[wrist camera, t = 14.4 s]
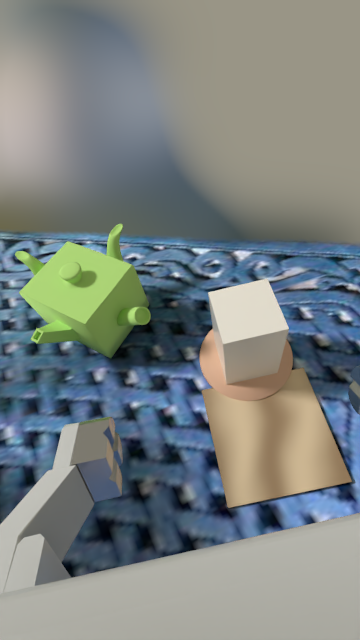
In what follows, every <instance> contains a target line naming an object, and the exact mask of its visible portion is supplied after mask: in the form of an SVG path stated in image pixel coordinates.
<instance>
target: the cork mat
mask: <svg viewBox="0 0 360 640" xmlns="http://www.w3.org/2000/svg"><path fill="white" fill-rule="evenodd" d="M202 394H203V398H204V402H205V407H206V411H207V416H208V420H209V425H210V429H211V434H212V438H213V443H214V447H215V452H216V456H217V461H218V465H219V470H220V474H221V479H222V483H223V488H224V492H225V497H226V501H227V506H228V508H231V507H236V506H240V505H245V504H250V503H255V502H259V501H264V500H269V499H273V498H278V497H283V496H288V495H292V494H297V493H302V492H306V491H311V490H316V489H321V488H325V487H330V486H335V485H340V484H344V483H349V482H352V480H351V478H350V476H349V473H348V471H347V469H346V466H345V464H344V462H343V459H342V457H341V455H340V452H339V450H338V447H337V445H336V443H335V440H334V438H333V436H332V433H331V431H330V429H329V426H328V424H327V422H326V419H325V417H324V415H323V412H322V410H321V408H320V405H319V403H318V401H317V398H316V396H315V394H314V391H313V389H312V387H311V384H310V382H309V379H308V377H307V375H306V372H305V370H304V368H300V369H295V370H291V374H290V376H289V378H288V380H287V381H286V383H285V384H284V385H283V386H282V387H281V388H280V389H279V390H278V391H277V392H275V393H274V394H272V395H271V396H268V397H266V398H263V399H260V400H254V401H242V400H236V399H232V398H230V397H227V396H225V395H223V394H221V393H220V392H218V391H217V390H215V389H214V388H211V389H206V390H202Z"/></svg>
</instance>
